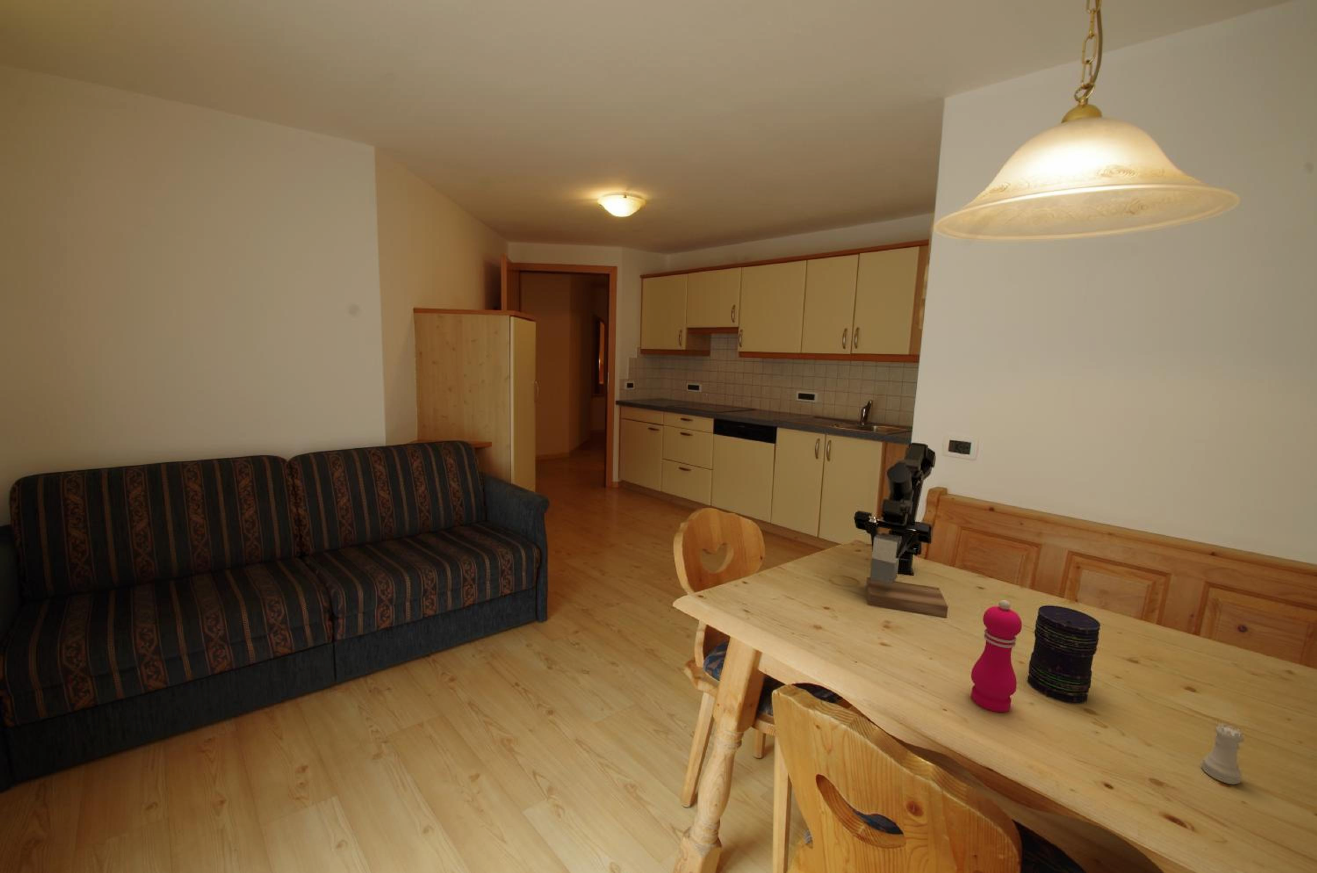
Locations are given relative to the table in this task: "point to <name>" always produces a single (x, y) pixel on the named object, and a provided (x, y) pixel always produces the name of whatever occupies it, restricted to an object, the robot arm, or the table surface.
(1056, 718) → the table surface
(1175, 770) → the table surface
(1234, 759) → the rook chess piece
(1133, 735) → the table surface
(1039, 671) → the dark ridged cylinder
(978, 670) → the pepper mill
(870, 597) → the stand
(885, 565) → the block
